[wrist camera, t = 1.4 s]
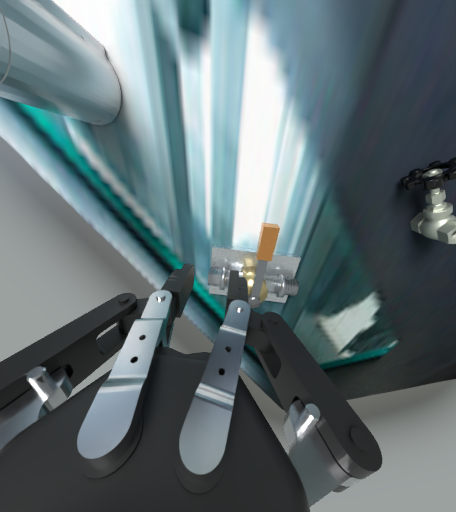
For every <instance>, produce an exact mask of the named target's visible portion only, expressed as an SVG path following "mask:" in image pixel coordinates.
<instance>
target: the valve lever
mask: <svg viewBox="0 0 456 512" xmlns="http://www.w3.org/2000/svg"><path fill="white" fill-rule="evenodd" d="M279 229H280V228H279V226H278V225H277V224H269V223H262V227H261V232H260V237H259V242H258V247H257V251H256V258H257V260H258V261H257V266H256V270H255V275H254V280H253V285H252V289H251V293H250V294H248V303H249V305H250V308H258V307H259V306H260V305H261V301H260V292H261V288H262V283H263V279H264V275H265V271H266V267H267V263H268V261H272V257H273V253H274V249H275V245H276V241H277V237H278V233H279Z"/></svg>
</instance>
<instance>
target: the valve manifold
mask: <svg viewBox="0 0 456 512" xmlns="http://www.w3.org/2000/svg"><path fill="white" fill-rule="evenodd" d="M256 251H257V250H256V249H248V248H240V247H232V246H224V245H216V244H213V247H212V259H211V268H210V270H209V275H208V285H210V289H209V293H212V294H220V295H227V292H228V284H229V276H230V270H237V271H239V277H245V279H246V280H247V284H248V294H250V293H251V289H252V285H253V280H254V275H255V270H256V266H257V261H258V260H257V258H256ZM300 259H301V258H300V256H299V255H296V254H288V253H280V252H274V253H273V257H272V261H268V263H267V267H266V271H265V275H264V279H263V283H262V288H261V292H260V301H261V302H263V301H264V300H266V301H274V302H282V303H285V302H286V300H287V297H288V295H290V296H296V295H297V292H298V281H297V279H294V276H295V273H296V270H297V268H298V265H299V262H300Z"/></svg>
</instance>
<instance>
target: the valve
mask: <svg viewBox="0 0 456 512" xmlns="http://www.w3.org/2000/svg"><path fill="white" fill-rule="evenodd" d="M443 168H449V169H448V170H446V171H445V172H443V173H442V169H443ZM453 179H456V157H455V158H453V159H451V160H449V161H448V162H445V163H441V161H435V162H432V163H430V164H429V167H427V168H424V169H414V170H412V171H411V172H410V176H406V177H403V178H401V179H400V181H401V185H405V188H406V190H410V189H413V188H414V185H415V184H422V187H423V189H424V190H429V193H427V195H426V202H427V203H430V204H429V205H428V206H427V207H425V208H424V209H423V212H421V213H419V214H418V215H417V216H415V217H414V218H413V219H412V220H411V221H410V225H411V230H412V231H415V232H418V233H422V234H423V235H424V236H425V237H427V238H430V239H435V240H440V241H442V242H445V243H448V244H456V217H455V216H453V215H450V214H451V213H452V212H453V207H452V204H450V203H446V202H444V201H443V200H444V199H445V198H446V197H445V190H440V187H442V186H443V185H444V184H445V183H444V182H445V181H448V180H453Z"/></svg>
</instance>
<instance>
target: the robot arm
mask: <svg viewBox="0 0 456 512" xmlns="http://www.w3.org/2000/svg"><path fill="white" fill-rule="evenodd" d="M0 97H3V98H6V99H10V100H13V101H16V102H20V103H23V104H27V105H30V106H33V107H37V108H40V109H43V110H47V111H50V112H53V113H57V114H60V115H63V116H67V117H70V118H74V119H77V120H80V121H83V122H86V123H90V124H94V125H106V124H109V123H111V122H112V121H113V120H114V119H115V118H116V117H117V115H118V113H119V110H120V106H121V90H120V85H119V81H118V78H117V76H116V73H115V71H114V69H113V67H112V66H111V64H110V63H109V61H108V59H107V58H106V55H105V50H104V46H103V45H102V44H101V43H100V42H99V41H97V40H96V39H95V38H94V37H93V36H92V35H91V34H90V33H88V32H87V31H86V30H85V29H84V28H83V27H82V26H81V25H79V24H78V23H77V22H76V21H75V20H74V19H73V18H72V17H70V16H69V15H68V14H67V13H66V12H65V11H64V10H63V9H61V8H60V7H59V6H58V5H57V4H56V3H55V2H54V1H52V0H0ZM193 284H194V265H191V264H184V265H183V267H182V269H176V270H175V271H173V272H172V274H171V275H170V277H169V278H168V280H167V281H166V283H165V284H164V286H163V287H162V289H161V290H159V291H156V292H154V293H153V294H152V295H151V296H150V298H145V299H136V296H135V295H134V294H132V293H124V294H120V295H118V296H116V297H115V298H113V299H111V300H109V301H107V302H105V303H104V304H102V305H100V306H98V307H97V308H95V309H93V310H91V311H90V312H88V313H86V314H84V315H83V316H81V317H79V318H77V319H75V320H74V321H72V322H70V323H69V324H67V325H65V326H63V327H62V328H60V329H58V330H56V331H54V332H53V333H51V334H49V335H47V336H45V337H44V338H42V339H40V340H38V341H37V342H35V343H33V344H31V345H30V346H28V347H26V348H25V349H23V350H21V351H19V352H17V353H15V354H14V355H12V356H10V357H9V358H7V359H5V360H3V361H1V362H0V512H310V509H309V507H311V506H312V505H314V504H315V503H316V502H318V501H319V500H320V499H322V498H323V497H324V496H326V495H327V494H329V493H330V492H331V491H334V492H342V491H343V490H345V489H347V488H349V487H350V486H352V485H354V484H355V483H357V482H359V481H360V480H362V479H364V478H366V477H367V476H369V475H371V474H372V473H374V472H376V471H377V470H379V468H380V467H381V465H382V455H381V451H380V448H379V446H378V443H377V441H376V440H375V438H374V436H373V435H372V434H371V432H370V431H369V430H368V428H367V427H366V426H365V424H364V423H363V422H362V421H361V419H360V418H359V417H358V415H357V414H356V413H355V412H354V410H353V409H352V408H351V406H350V405H349V404H348V402H347V401H346V400H345V398H344V397H343V396H342V395H341V393H340V392H339V391H338V389H337V388H336V387H335V386H334V384H333V383H332V382H331V380H330V379H329V378H328V376H327V375H326V374H325V373H324V371H323V370H322V369H321V367H320V366H319V365H318V363H317V362H316V361H315V360H314V358H313V357H312V356H311V354H310V353H309V352H308V351H307V349H306V348H305V347H304V345H303V344H302V343H301V341H300V340H299V339H298V338H297V336H296V335H295V334H294V332H293V331H292V330H291V329H290V327H289V326H288V325H287V323H286V322H285V321H284V319H283V318H282V317H281V316H280V315H278V314H277V313H274V312H266V313H264V314H263V315H261V314H259V313H257V312H255V311H253V310H252V309H251V308H250V305H249V303H248V284H247V280H246V279H245V277H239V271H237V270H230V276H229V284H228V292H227V301H226V310H225V319H224V323H223V326H221V327H220V329H219V332H218V335H217V338H216V341H215V343H214V346H213V349H212V352H211V353H207V352H201V353H193V354H183V353H181V352H178V351H176V350H174V349H171V348H169V345H170V340H171V335H172V330H173V325H174V323H173V322H174V319H175V317H179V318H180V317H181V315H182V312H183V310H184V307H185V305H186V302H187V300H188V298H189V295H190V293H191V290H192V288H193ZM114 323H117V325H116V326H115V327H114V328H112V329H111V330H109V331H108V332H106V333H105V334H104V335H102V336H101V337H99V338H98V339H97V340H96V338H97V337H98V335H99V334H100V333H101V332H103V331H104V330H106V329H107V328H108V327H110V326H111V325H113V324H114ZM244 343H246V344H248V345H250V346H252V347H254V349H255V351H256V353H257V355H258V357H259V359H260V361H261V363H262V365H263V367H264V369H265V371H266V373H267V375H268V378H269V380H270V382H271V384H272V386H273V388H274V390H275V392H276V394H277V396H278V398H279V400H280V402H281V404H282V406H283V408H284V410H285V412H286V413H287V414H286V415H285V418H284V422H283V426H284V432H285V435H286V438H287V441H288V447H289V453H288V455H287V453H286V452H285V450H284V448H283V447H282V445H281V443H280V442H279V440H278V438H277V437H276V435H275V433H274V432H273V430H272V428H271V427H270V425H269V423H268V422H267V420H266V419H265V417H264V415H263V413H262V412H261V410H260V409H259V407H258V405H257V404H256V402H255V400H254V398H253V397H252V395H251V393H250V392H249V390H248V389H247V387H246V385H245V384H244V382H243V380H242V379H241V377H240V376H239V370H240V365H241V359H242V354H243V349H244ZM121 348H122V349H121ZM120 349H121V351H120V354H119V356H118V358H117V360H116V362H115V364H114V367H113V369H111V370H110V371H109V372H107V373H106V374H104V375H103V376H101V377H100V378H98V379H97V380H95V381H94V382H92V383H91V384H90V385H88V386H87V387H86V388H84V389H82V390H81V391H79V392H78V393H76V394H75V395H74V396H72V397H71V398H69V399H68V397H69V396H70V394H71V392H72V389H73V388H75V387H76V386H77V385H78V384H80V383H81V382H82V381H83V380H84V379H85V378H87V377H88V376H89V375H90V374H92V373H93V372H94V371H95V370H96V369H97V368H99V367H100V366H101V365H102V364H103V363H105V362H106V361H107V360H108V359H109V358H111V357H112V356H113V355H114V354H115V353H116V352H118V351H119V350H120ZM67 399H68V400H67Z"/></svg>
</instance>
